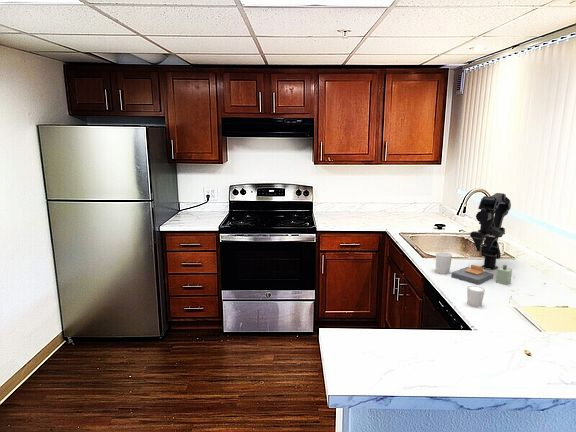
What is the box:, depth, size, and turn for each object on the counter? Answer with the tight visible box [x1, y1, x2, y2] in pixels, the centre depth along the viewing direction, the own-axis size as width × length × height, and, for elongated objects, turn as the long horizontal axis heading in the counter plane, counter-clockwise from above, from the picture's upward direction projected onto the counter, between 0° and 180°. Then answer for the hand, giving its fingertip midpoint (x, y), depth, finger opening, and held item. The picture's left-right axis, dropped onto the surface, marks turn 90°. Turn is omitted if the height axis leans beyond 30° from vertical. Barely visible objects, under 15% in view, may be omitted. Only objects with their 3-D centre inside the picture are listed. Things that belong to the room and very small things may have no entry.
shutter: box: [465, 264, 485, 275], centre depth 207 cm, size 6×7×2 cm
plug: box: [495, 264, 513, 286], centre depth 199 cm, size 4×5×9 cm
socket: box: [450, 266, 494, 286], centre depth 206 cm, size 15×14×2 cm
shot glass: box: [466, 285, 485, 308], centre depth 174 cm, size 7×7×7 cm
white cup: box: [435, 251, 453, 275], centre depth 214 cm, size 8×8×10 cm
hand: (483, 250), depth 209 cm, fingers open, 9 cm apart
